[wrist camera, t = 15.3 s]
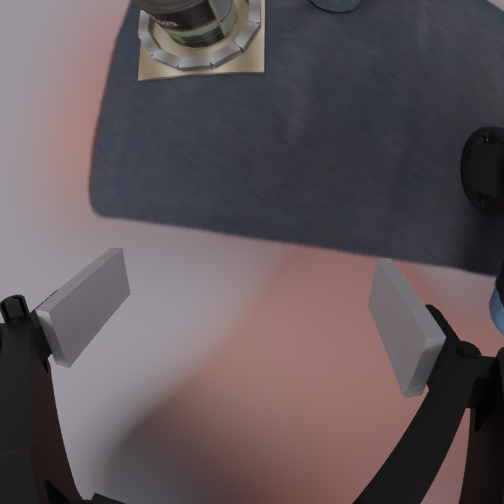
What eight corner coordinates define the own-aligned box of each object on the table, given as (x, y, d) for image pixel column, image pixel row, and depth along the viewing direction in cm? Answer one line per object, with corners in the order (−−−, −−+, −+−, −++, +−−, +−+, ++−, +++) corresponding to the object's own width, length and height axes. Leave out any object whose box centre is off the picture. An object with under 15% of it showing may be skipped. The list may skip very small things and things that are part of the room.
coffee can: (199, 63, 36) (166, 30, 23) (154, 25, 34) (112, -13, 21) (254, 18, 34) (246, -31, 20) (206, -18, 32) (183, -68, 18)
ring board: (265, -26, 32) (264, -37, 28) (264, 73, 38) (263, 67, 34) (150, -15, 33) (142, -24, 29) (141, 81, 39) (131, 77, 35)
